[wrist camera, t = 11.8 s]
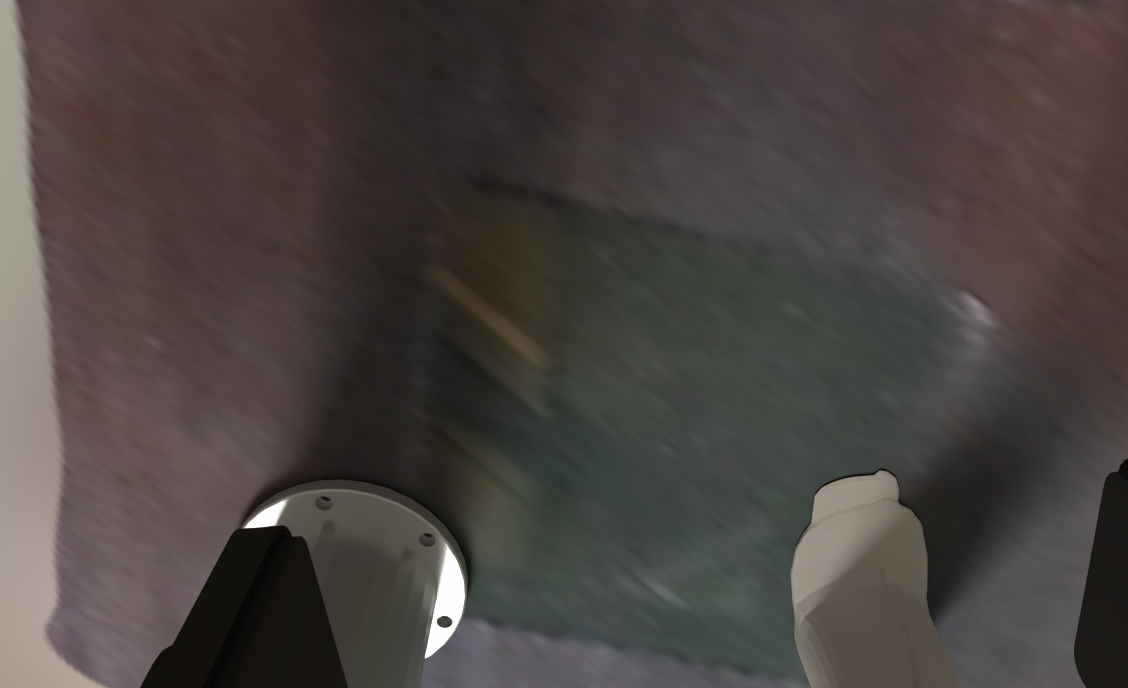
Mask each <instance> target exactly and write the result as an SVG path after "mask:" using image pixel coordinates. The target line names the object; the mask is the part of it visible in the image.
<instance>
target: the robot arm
mask: <svg viewBox="0 0 1128 688" xmlns="http://www.w3.org/2000/svg"><path fill="white" fill-rule="evenodd" d="M467 590H468V574H467V569H466V564H465V559H464V557H463V555H462V552H461V550H460V548H459V546H458V543H457V542H456V540H455V539H454V537H453V536H452V535H451V533H450V532H449V530H448V529H447V528H446V526H445V525H444V524H443V523H442V522H441V521H440V520H439V519H438V518H436V517H435V516H434V515H433V514H432V513H431V512H430V511H429V510H427V509H426V508H424V507H423V506H421V505H420V504H418V503H417V502H415V501H414V500H412V499H411V498H409V497H407V496H404V495H402V494H400V493H398V492H396V491H393V490H391V489H389V488H385V487H381V486H378V485H374V484H371V483H367V482H359V481H351V480H319V481H314V482H309V483H305V484H300V485H296V486H294V487H291V488H289V489H286V490H284V491H281V492H279V493H277V494H275V495H274V496H272V497H271V498H269V499H267V500H266V501H264V502H263V503H261V504H260V505H259V506H258V507H257V508H256V509H255V510H254V511H253V512H252V513H251V514H250V515H249V516H248V517H247V519H246V520H245V522H244V524H243V525H242V527H241V529H237V530H235V531H234V532H233V534H232V535H231V537H230V538H229V540H228V542H227V544H226V546H225V548H224V550H223V552H222V553H221V555H220V557H219V559H218V561H217V563H216V565H215V567H214V568H213V570H212V572H211V574H210V576H209V578H208V580H207V581H206V583H205V585H204V587H203V589H202V591H201V593H200V595H199V596H198V598H197V600H196V602H195V604H194V606H193V608H192V610H191V611H190V613H189V615H188V617H187V619H186V621H185V623H184V624H183V626H182V628H181V630H180V632H179V634H178V636H177V638H176V639H175V641H174V643H173V645H172V646H169V647H168V648H166V649H165V650H163V651H162V652H161V653H160V654H159V656H158V657H157V659H156V660H155V661H154V663H153V665H152V667H151V668H150V670H149V672H148V674H147V676H146V678H145V679H144V681H143V683H142V685H141V687H140V688H419V686H420V681H421V676H422V671H423V666H424V661H425V659H426V658H428V657H429V656H431V655H433V654H434V653H435V652H436V651H437V650H439V649H440V648H441V647H442V646H443V645H444V644H446V642H447V641H448V640H449V639H450V637H451V636H452V635H453V633H454V632H455V631H456V629H457V627H458V625H459V623H460V621H461V618H462V616H463V614H464V609H465V604H466V599H467ZM1074 657H1075V663H1076V667H1077V670H1078V673H1079V676H1080V677H1081V679H1082V681H1083V683H1084V685H1085V686H1086V688H1128V459H1126V460H1124V462H1123V463H1122V464H1121V465H1120V468H1119V471H1118V472H1113V473H1110V474H1109V475H1108V476H1107V478H1106V480H1105V483H1104V488H1103V494H1102V499H1101V504H1100V510H1099V515H1098V521H1097V526H1096V531H1095V537H1094V542H1093V548H1092V553H1091V559H1090V564H1089V569H1088V575H1087V580H1086V586H1085V591H1084V596H1083V602H1082V607H1081V613H1080V618H1079V623H1078V629H1077V634H1076V640H1075V645H1074Z"/></svg>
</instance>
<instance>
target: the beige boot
mask: <svg viewBox="0 0 1128 688" xmlns="http://www.w3.org/2000/svg"><path fill="white" fill-rule="evenodd" d="M898 499H899V487H898V484H897V481H896V478H895V477H894V476H892V475H891V474H890V473H888V472H886V471H878V472H877V473H876V474H875V475H870V476H857V477H850V478H845V479H841V480H838V481H835V482H832V483H830V484H828V485H826V486H824V487H822V488H821V489H820V490H819V491H818V493H817V494H816V495H815V499H814V507H813V515H812V523H811V524H810V525H809V527H808V528H807V529H806V530H805V532H804V533H803V535H802V537H801V538H800V540H799V542H798V544H797V545H796V548H795V553H794V557H793V562H792V567H791V587H792V600H793V608H794V616H795V630H794V636H795V641H796V645H797V648H798V652H799V655H800V658H801V661H802V664H803V666H804V669H805V672H806V674H807V677H808V680H809V683H810V685H811V688H960V686H959V683H958V680H957V678H956V675H955V672H954V670H953V667H952V665H951V662H950V660H949V657H948V655H947V653H946V650H945V648H944V646H943V644H942V642H941V640H940V637H939V635H938V633H937V631H936V629H935V627H934V625H933V622H932V620H931V617H930V614H929V610H928V605H927V560H928V557H927V552H926V546H925V541H924V535H923V529H922V524H921V523H920V521H919V520H918V519H917V517H916V516H915V515H914V513H913V512H912V511H911V509H909V508H907V507H905V506H903V505H901V504H900V503H898Z"/></svg>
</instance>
